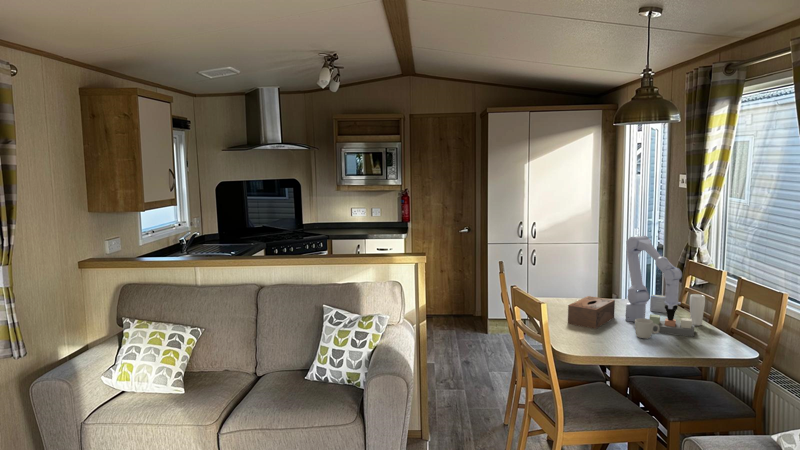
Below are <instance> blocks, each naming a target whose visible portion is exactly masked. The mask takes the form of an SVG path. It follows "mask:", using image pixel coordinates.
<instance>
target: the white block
mask: <svg viewBox="0 0 800 450" xmlns="http://www.w3.org/2000/svg"><path fill="white" fill-rule="evenodd" d="M680 319H681V320H680V323H681V327H682V328H690V329H691V327H692V319H690V318H687V317H686V318H685V317H681V318H680Z"/></svg>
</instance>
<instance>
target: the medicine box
mask: <svg viewBox="0 0 800 450" xmlns="http://www.w3.org/2000/svg"><path fill="white" fill-rule="evenodd" d="M649 300H650V305H649V306H650V307H649V311H650V312H653V313H654V312H656V313H664V314H667V312H666V309H665V305H667V304H665V303H664V302H665V295H661V294H660V295H659V294H651V295H650V299H649Z"/></svg>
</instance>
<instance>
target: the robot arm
mask: <svg viewBox="0 0 800 450" xmlns="http://www.w3.org/2000/svg"><path fill="white" fill-rule="evenodd" d="M625 242H626V256H627V264H628V269H629V278H630V284H631V285H630V287H629V288H628V289H627V291H628V292H627V293H628V294H627V300H628V302H626V305H625V321H626V322H627V321H628V322H632V323H633V322H634V323H635V319H640V318H642V319H647V317H646V306H647V303H648V302H649V300H650V299H651V295H650V293H649V291H648V288H647V287H646V285H644V283H643V276H642V271H641V269H642V268H641V264H640V263H641V262H640V257H639V254H640V253H641V252H642V251H644V252H646V254H648V255H649V256H650V257H651V258H652V259H653V260H654V261H655V263H654V264H655V266H656V267H657V268H658V269H659V270H660V271H661V273H662V274H663V278H664V282H665V291H664V293H665V294H664V296H665V302H664V303H665V304H667V305H665V309H666V316H667V319H668V320H671V321H673V319H675V314H676V312H677V310H678V307H679V306H678V305H681V301H679V293H680V292H679V290H680V287H679V285H680V280H681V279H682V277H683V272H682V270H681V269H680V268H679V267H676V266H675V265H673V264H672V263H671V262H670V261H669V259H668V257H666V256H662V255H661V254H660V253H659V252H658V250H657V249H656V247H655V246H654V245H653V244H652V240H651V239H649V237H648V235H640V236H629V238H627V240H626V241H625Z"/></svg>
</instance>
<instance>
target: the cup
mask: <svg viewBox="0 0 800 450" xmlns="http://www.w3.org/2000/svg"><path fill="white" fill-rule="evenodd" d="M634 326H635V336H636V337H637V338H640V339H650V338H651V337H652V335H654V334H658V333H660V332H659V330H660V328H659V325H657V324H655V323H653V321H652V320H649V318H646V319H642V318H640V319H635V322H634ZM654 326H657V328H658V330H657V331H656V332H654V331H653V327H654Z"/></svg>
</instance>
